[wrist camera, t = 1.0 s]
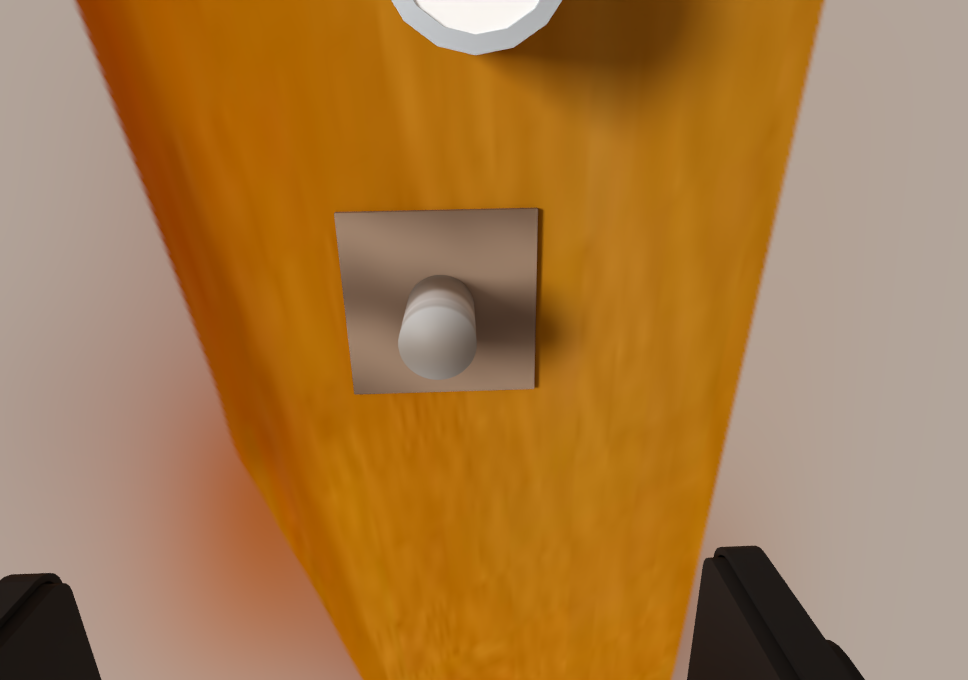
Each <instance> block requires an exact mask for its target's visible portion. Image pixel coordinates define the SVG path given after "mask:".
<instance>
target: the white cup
mask: <svg viewBox="0 0 968 680" xmlns="http://www.w3.org/2000/svg"><path fill="white" fill-rule="evenodd" d="M561 1H562V0H392V2H393V4H394V5H395V7H396V8H397V10H398V12H399V13H400V15H401V17H402V18H403V20H404V21H405V22H406V23H408V24H409V25H410V26H412V27H413V28H414V29H416V30H417V31H418V32H420V33H421V34H422V35H423V36H425V37H426V38H427V39H429V40H430V41H431V42H433V43H434V44H435V45H437V46H439V47H444V48H448V49H452V50H456V51H460V52H464V53H468V54H472V55H479V54H484V53H489V52H494V51H499V50H504V49H509V48H514V47H515V46H516V45H518V44H519V43H521V42H522V41H524V40H525V39H526V38H528V37H529V36H531V35H532V34H533V33H535V32H536V31H538V30H539V29H541V28H542V27H543V26H545V25H546V24H547V23H548V21H549V20H550V18H551V17H552V15H553V14H554V12H555V11H556V9H557V8H558V6H559V4H560V3H561Z"/></svg>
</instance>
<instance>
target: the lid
mask: <svg viewBox="0 0 968 680" xmlns="http://www.w3.org/2000/svg"><path fill="white" fill-rule="evenodd" d="M334 217H335V225H336V234H337V243H338V252H339V261H340V270H341V279H342V287H343V296H344V305H345V314H346V323H347V332H348V341H349V349H350V358H351V367H352V376H353V385H354V394H381V393H414V392H447V391H480V390H513V389H534V374H535V325H536V277H537V228H538V208H502V209H456V210H409V211H363V212H335V213H334Z"/></svg>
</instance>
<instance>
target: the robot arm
mask: <svg viewBox="0 0 968 680" xmlns="http://www.w3.org/2000/svg"><path fill="white" fill-rule="evenodd" d="M0 680H101V677H100V674H99V671H98V668H97V665H96V662H95V659H94V656H93V653H92V650H91V647H90V644H89V641H88V638H87V635H86V632H85V629H84V626H83V622H82V620H81V616H80V613H79V610H78V607H77V604H76V601H75V598H74V595H73V592H72V590H71V588H70V586H69V585H67V584H65V583H62V581H61V579H60V577H58V576H57V575H56V574H53V573H40V574H14V575H9V576H6V577H4V578H2V579H1V580H0ZM687 680H865V679H864V678H863V676H862V675H861V674H860V672H859V671H858V670H857V668H856V667H855V665H854V664H853V663H852V661H851V660H850V658H849V657H848V656H847V655H846V653H845V652H844V651H843V650H842V649H841V648H840V647H839V646H838V645H837V644H835V643H834V642H832V641H830V640H826V639H825V638H824V637H823V635H822V634H821V632H820V631H819V629H818V628H817V627H816V625H815V624H814V622H813V621H812V619H811V618H810V617H809V615H808V614H807V612H806V611H805V609H804V608H803V607H802V605H801V604H800V602H799V601H798V600H797V598H796V597H795V595H794V594H793V593H792V591H791V590H790V588H789V587H788V585H787V584H786V583H785V581H784V580H783V578H782V577H781V576H780V574H779V573H778V571H777V570H776V568H775V567H774V565H773V564H772V563H771V561H770V560H769V558H768V557H767V555H766V554H765V553H764V551H763V550H762V549H761V548H760V547H757V546H738V547H737V546H736V547H720V548H717V549H716V551H715V553H714V557H713V558H706V559H705V561H704V564H703V569H702V576H701V583H700V590H699V598H698V605H697V612H696V619H695V626H694V634H693V642H692V649H691V655H690V662H689V669H688V677H687Z"/></svg>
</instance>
